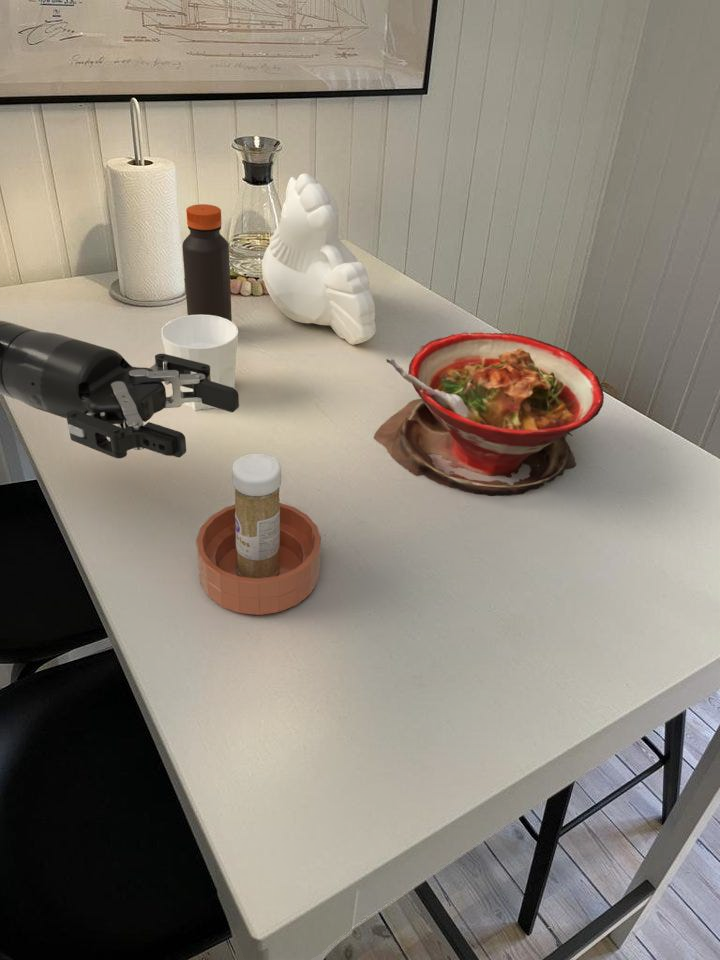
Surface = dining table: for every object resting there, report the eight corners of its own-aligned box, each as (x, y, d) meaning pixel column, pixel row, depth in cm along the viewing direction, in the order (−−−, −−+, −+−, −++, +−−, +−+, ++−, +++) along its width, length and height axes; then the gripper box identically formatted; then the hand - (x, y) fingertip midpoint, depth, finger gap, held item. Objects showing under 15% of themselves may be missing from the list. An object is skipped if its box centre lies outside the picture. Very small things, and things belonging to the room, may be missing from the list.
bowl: (259, 638, 71) (259, 601, 68) (175, 576, 77) (171, 540, 74) (342, 572, 79) (345, 537, 76) (259, 521, 85) (259, 486, 82)
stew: (389, 519, 87) (403, 399, 77) (358, 408, 106) (366, 301, 96) (615, 508, 91) (655, 394, 82) (547, 404, 110) (573, 301, 100)
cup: (170, 417, 101) (163, 350, 95) (165, 380, 108) (158, 316, 102) (245, 411, 103) (243, 345, 97) (234, 375, 111) (232, 312, 105)
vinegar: (182, 331, 121) (172, 205, 109) (221, 323, 124) (215, 199, 112) (199, 349, 116) (190, 219, 104) (239, 340, 120) (235, 213, 108)
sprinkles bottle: (228, 565, 78) (222, 460, 70) (265, 549, 80) (264, 446, 72) (250, 592, 75) (247, 486, 67) (289, 574, 78) (290, 470, 69)
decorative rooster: (251, 256, 131) (246, 164, 107) (337, 235, 133) (351, 141, 109) (295, 386, 126) (300, 320, 102) (383, 361, 129) (409, 292, 105)
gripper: (1, 373, 64) (159, 424, 60) (110, 314, 75) (251, 353, 70) (19, 446, 69) (167, 499, 64) (119, 380, 79) (253, 421, 75)
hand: (211, 422), depth 67 cm, fingers open, 8 cm apart
